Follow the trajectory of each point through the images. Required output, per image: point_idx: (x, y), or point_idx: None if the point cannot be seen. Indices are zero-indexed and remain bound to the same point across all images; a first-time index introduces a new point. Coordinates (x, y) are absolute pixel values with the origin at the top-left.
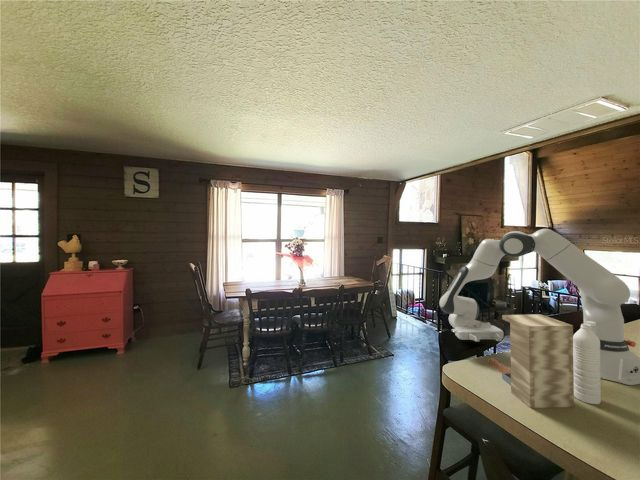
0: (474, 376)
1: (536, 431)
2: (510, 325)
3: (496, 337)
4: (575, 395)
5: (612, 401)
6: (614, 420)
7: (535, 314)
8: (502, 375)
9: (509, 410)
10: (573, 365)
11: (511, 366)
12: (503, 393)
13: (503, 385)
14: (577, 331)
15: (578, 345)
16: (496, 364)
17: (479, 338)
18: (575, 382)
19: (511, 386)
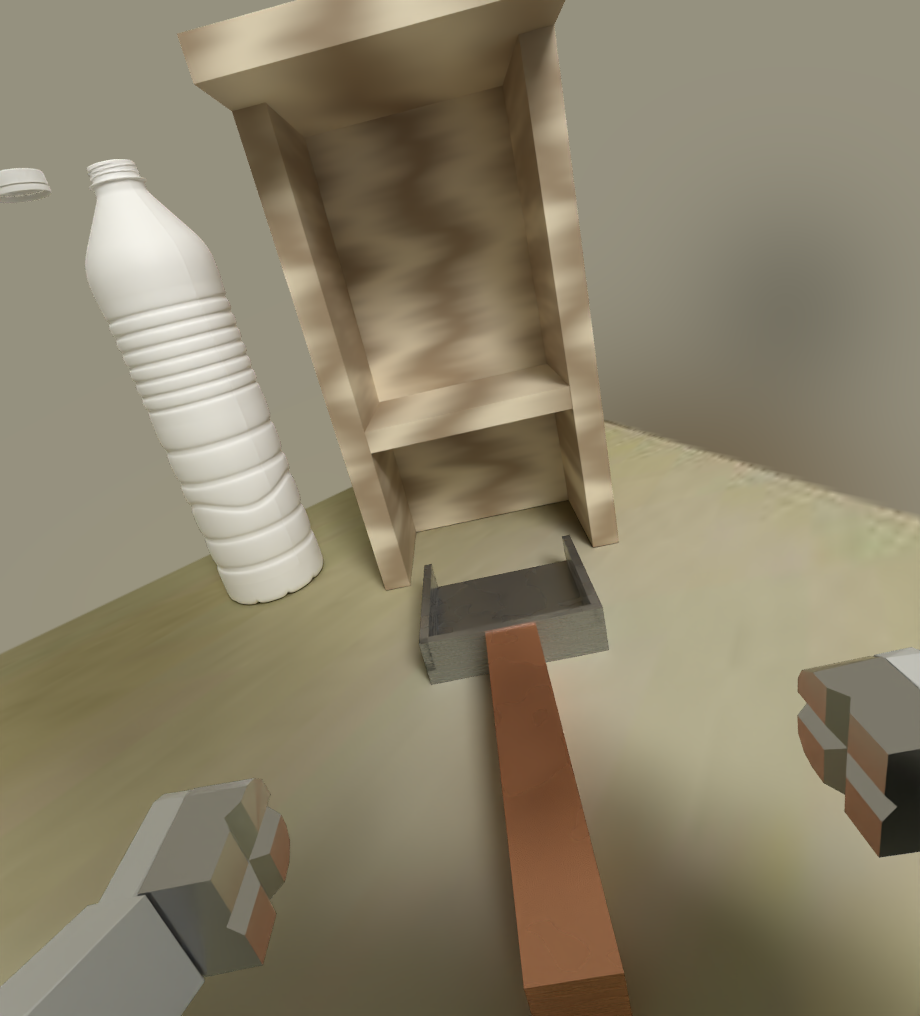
0: (861, 638)
1: (629, 432)
2: (557, 52)
3: (239, 856)
4: (317, 562)
5: (192, 587)
6: (336, 510)
7: (231, 19)
8: (603, 622)
9: (681, 463)
10: (244, 439)
11: (597, 384)
12: (667, 529)
13: (635, 584)
14: (153, 213)
15: (223, 287)
16: (574, 779)
17: (808, 670)
18: (295, 502)
19: (613, 506)
